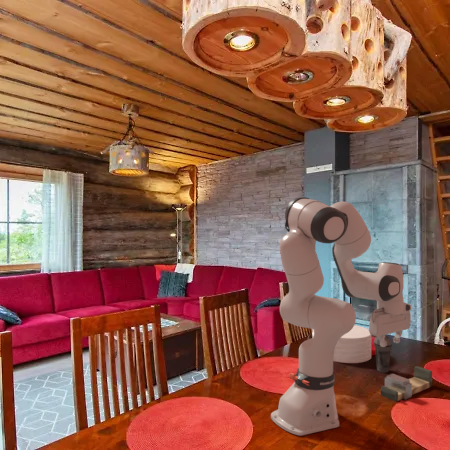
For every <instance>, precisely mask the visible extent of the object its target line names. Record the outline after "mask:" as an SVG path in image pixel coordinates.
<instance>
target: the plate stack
mask: <svg viewBox="0 0 450 450" xmlns="http://www.w3.org/2000/svg"><path fill="white" fill-rule="evenodd" d="M311 330H312V332H311V333H312V334H311V337H312V338H313V337H314V329H311ZM371 359H372V335H371V334H370V333H369V328H366V327H363V326H360V325H356V324H354V326H353V328H352V329H351V330H350V331H349V332H348V333H346V334H345V335H343V336H342V337H341V338H340V339H339V340H338V342H337V344H336V346H335V349H334V357H333V362H336V363H345V364H359V363H364V362H365V363H366V362H368V361H369V360H371Z"/></svg>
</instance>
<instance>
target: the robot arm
mask: <svg viewBox="0 0 450 450" xmlns="http://www.w3.org/2000/svg"><path fill="white" fill-rule="evenodd" d="M285 208H286V209H285V211H284V219H285V223H284V228H285V230H286V231H287V232H288V233H286V234H284V235H283V236H282V237H281V239H280V240H279V253H280V261H281V264H282V268H283V270H284V274H285V277H286V280H287V284H288V293H287V294H286V295H284V296H283V298H282V299H281V301H280V305H279V314H280V317H281V319H282V320H283V321H284V322H286V323H288V324H291V325H294V326H296V327H301V328H306V329H311V330H312V329H314V337H313V336H312V337H313V338H311V337H310V338H308V339H306V340H304V341H303V342H302V343H301V344H300V345H299V348H298V368H297V371H296V373H294V372H291V371H290V373H289V374H288V378H289V379H291V380H292V381H294V382H293V383H292V384H291V385H290V386H289V388H288V389H287V390H286V391H285V392H284V393H283V394H282V395H281V396H280V397H279V402H278V409H276V410H274V411H272V412H271V413H270V419H271V420H272V422H274V423H275V424H276V425H277V426H278V427H279V428H281V429H283V430H284V431H286V432H287V433H291V434H293V435H296V436H299V437H300V436H301V437H302V436H307V435H310V434H313V433H318V432H322V431H327V430H331V429H335V428H339V427H340V420H339V414H338V410H337V402H336V401H337V400H336V395H335V388H334V386H335V380H336V379H335V378H336V377H335V372H334V361H333V357H334V349H335V346H336V344H337V342H338V340H339V339H340V338H341V337H342V336H343V335H345V334H346V333H348V332H349V331H350V330H351V329H352V328H353V326H354V325H356V321H357V316H356V311H355V309H354V307H353V305H352V303H350V302H349V301H348V302H347V301H345V300H342V299H339V298H334V297H327V296H322V295H321V296H320V295H316V294H317V293H318V292H319V291H320V290H321V289H322V288H323V286H324V281H325V278H324V274H323V271H322V268H321V263H320V260H319V257H318V254H317V250H316V243H317V242H318V243H322V244H332V243H333V245H332V248H331V249H332V250H331V253H332V256H333V259H334V260H333V261H334V264H335V267H336V269H337V272H338V275H339V277H340V283H341V289H342V291H343V292H344V293H345V295H346V296H347V297H349V298H351V299H352V298H353V299H354V298H355V299H365V300H368V301H370V300H371V301H376V308H375V309H374V310H373V311H372V312H371V315H370V318H369V323H368V324H369V325H368V326H369V327H368V330H369V333H370V334H371V336H374V337H376V336H377V337H378V339H379V341H380V346H381V347H386V346H387V342H386V341H385V339H384V338H385V335H386V336H388V335H390V334H393V333H394V337H392V341H393V343H395V344H399V343H401V336H402V335H403V331H405V330H409V329H410V327H411V321H412V320H411V319H412V318H411V316H412V315H411V310H412V305H411V304H409V303H407V302H405V301H404V296H403V290H404V273H403V268H402V266H401V265H400V264H399V263H395V262H386V261H383V262H382V261H381V262H379V263H378V267H377V271H375V272H371V271H369V272H368V271H361V270H359V269H356V268H355V267H354V265H353V262H352V260H353V259H356V258H359V257H361V256H362V255H364V254H365V253H366V252H367V251H368V250H369V248H370V246H371V243H372V235H371V233H370V230H369V228H368V226H367V224H366V222H365V221H364V219H363V217H362V215H361V214H360V213H359V211H358V210H357V208H355V206H354V205H353V204H352V203H350V202H349V201H337V202H334V203H333V204H331V205H328V204H325V203H324V202H322V201H320V200H316V199H313V198H312V199H311V198H309V197H304V196H302V197H299V196H298V197H295V198H293V199H291V200H289V202H288V203H287V205H286V207H285Z"/></svg>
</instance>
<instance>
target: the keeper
mask: <svg viewBox="0 0 450 450" xmlns="http://www.w3.org/2000/svg"><path fill="white" fill-rule="evenodd" d="M409 379H410V378H406V377H403V376H401V375H397V374H395V373H390V374H388V375H386V377H384V386H385V387H389V388H392V389H394V390H397V391H399V392H401V393H403V399H402V400H405V401H406V400H407V399H411V398H412V397H413V396H412V383H410V380H409Z"/></svg>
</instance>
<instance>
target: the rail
mask: <svg viewBox="0 0 450 450" xmlns="http://www.w3.org/2000/svg"><path fill="white" fill-rule="evenodd" d="M413 371H414V372H413V377H411V378H408V379H409V380H410V383H412V395H415V394H417V393H421V392H422V391H424V390H427V389H429V388H431V387H433V370H430V369H427V368H424V367H421V366H418V365H416V366H414V367H413ZM380 396H382V397H384V398H387V399H389V400H391V401H394V402H398V401H400V400H404V399H403V393H401V392H399V391H397V390H394V389H392V388H389V387H385V385H381V386H380Z"/></svg>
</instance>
